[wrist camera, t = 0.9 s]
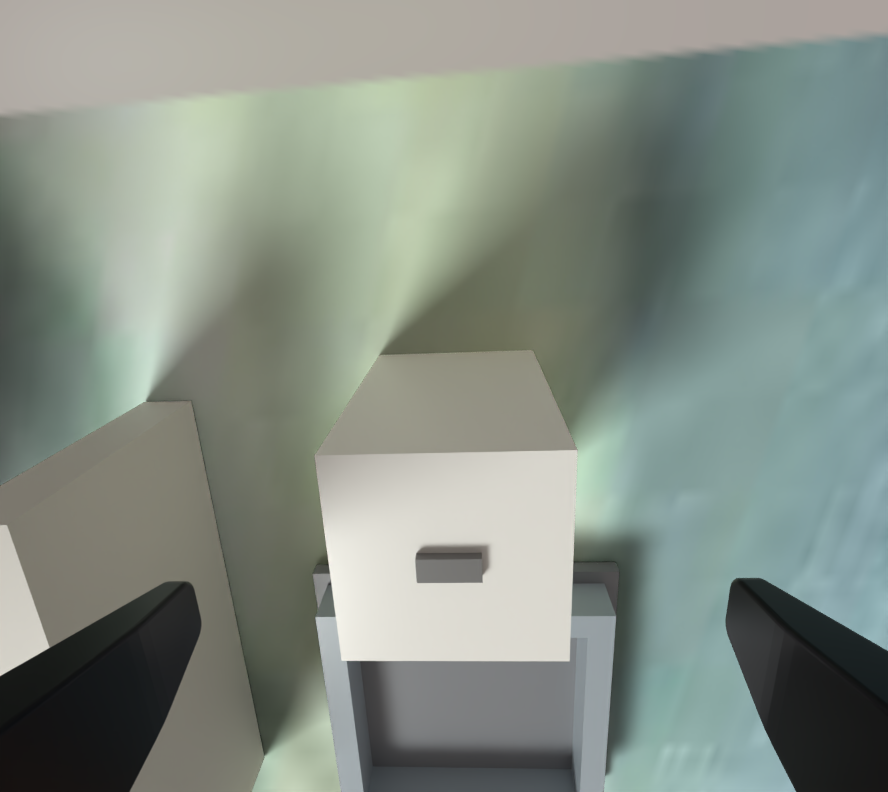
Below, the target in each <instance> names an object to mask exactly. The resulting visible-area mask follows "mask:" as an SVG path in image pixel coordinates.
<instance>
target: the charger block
mask: <svg viewBox="0 0 888 792" xmlns="http://www.w3.org/2000/svg"><path fill="white" fill-rule="evenodd" d="M314 457H315V464H316V472H317V479H318V487H319V494H320V502H321V509H322V517H323V524H324V532H325V539H326V547H327V554H328V562H329V570H330V577H331V585H332V592H333V600H334V607H335V615H336V622H337V630H338V637H339V645H340V652H341V660H342V661H570V637H571V610H572V583H573V557H574V530H575V504H576V477H577V448H576V446H575V443H574V441H573V439H572V437H571V434H570V432H569V430H568V428H567V425H566V423H565V421H564V419H563V416H562V414H561V412H560V410H559V408H558V405H557V403H556V401H555V399H554V396H553V394H552V392H551V390H550V387H549V385H548V383H547V381H546V378H545V376H544V374H543V372H542V369H541V367H540V365H539V363H538V360H537V358H536V356H535V354H534V352H533V350H519V351H488V352H456V353H425V354H393V355H379V356H378V358H377V359H376V361H375V362H374V364H373V366H372V367H371V369H370V370H369V372H368V373H367V375H366V376H365V378H364V379H363V381H362V383H361V384H360V386H359V387H358V389H357V390H356V392H355V393H354V395H353V396H352V398H351V400H350V401H349V403H348V404H347V406H346V407H345V409H344V410H343V412H342V413H341V415H340V417H339V418H338V420H337V421H336V423H335V424H334V426H333V427H332V429H331V431H330V432H329V434H328V435H327V437H326V438H325V440H324V441H323V443H322V444H321V446H320V448H319V449H318V451H317V452H316V454H315V455H314Z"/></svg>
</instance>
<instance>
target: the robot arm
mask: <svg viewBox="0 0 888 792" xmlns="http://www.w3.org/2000/svg"><path fill="white" fill-rule="evenodd" d="M201 627H202V620H201V615H200V611H199V606H198V602H197V598H196V594H195V589H194V586H193V585H192V584H191V583H190V582H188V581H167V582H164V583H162V584H160V585H159V586H157V587H155V588H153V589H152V590H150V591H148V592H146V593H145V594H143V595H141V596H139V597H138V598H136V599H134V600H132V601H131V602H129V603H127V604H125V605H124V606H122V607H120V608H118V609H117V610H115V611H113V612H111V613H110V614H108V615H106V616H104V617H103V618H101V619H99V620H97V621H96V622H94V623H92V624H90V625H89V626H87V627H85V628H83V629H82V630H80V631H78V632H76V633H75V634H73V635H71V636H69V637H68V638H66V639H64V640H62V641H61V642H59V643H57V644H55V645H53V646H52V647H50V648H48V649H46V650H45V651H43V652H41V653H39V654H38V655H36V656H34V657H32V658H31V659H29V660H27V661H25V662H24V663H22V664H20V665H18V666H17V667H15V668H13V669H11V670H10V671H8V672H6V673H4V674H3V675H1V676H0V792H130V790H131V788H132V787H133V785H134V783H135V781H136V779H137V777H138V775H139V773H140V771H141V769H142V767H143V765H144V763H145V761H146V759H147V757H148V755H149V753H150V751H151V749H152V747H153V745H154V743H155V741H156V739H157V737H158V735H159V733H160V731H161V729H162V727H163V725H164V723H165V721H166V718H167V716H168V714H169V711H170V709H171V707H172V704H173V702H174V699H175V696H176V694H177V691H178V689H179V686H180V684H181V681H182V679H183V676H184V674H185V671H186V669H187V666H188V664H189V661H190V659H191V656H192V654H193V651H194V649H195V646H196V644H197V641H198V638H199V636H200V632H201ZM726 630H727V634H728V637H729V639H730V642H731V644H732V647H733V650H734V652H735V655H736V657H737V660H738V662H739V665H740V668H741V670H742V673H743V675H744V678H745V680H746V683H747V686H748V688H749V691H750V693H751V696H752V698H753V701H754V704H755V706H756V709H757V711H758V714H759V716H760V719H761V721H762V723H763V726H764V728H765V730H766V733H767V735H768V737H769V739H770V741H771V743H772V745H773V747H774V749H775V751H776V753H777V755H778V757H779V759H780V761H781V763H782V765H783V767H784V769H785V771H786V773H787V775H788V777H789V779H790V781H791V783H792V784H793V786H794V788H795V790H796V792H888V651H887V650H885V649H883V648H882V647H880V646H878V645H876V644H875V643H873V642H871V641H870V640H868V639H866V638H864V637H863V636H861V635H859V634H857V633H856V632H854V631H852V630H850V629H849V628H847V627H845V626H844V625H842V624H840V623H838V622H837V621H835V620H833V619H831V618H830V617H828V616H826V615H824V614H823V613H821V612H819V611H817V610H816V609H814V608H812V607H811V606H809V605H807V604H805V603H804V602H802V601H800V600H798V599H797V598H795V597H793V596H791V595H790V594H788V593H786V592H785V591H783V590H781V589H779V588H778V587H776V586H774V585H772V584H771V583H769V582H767V581H765V580H763V579H761V578H736V579H735V580H733V582H732V583H731V587H730V593H729V600H728V607H727V614H726Z"/></svg>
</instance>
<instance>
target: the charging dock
mask: <svg viewBox="0 0 888 792" xmlns="http://www.w3.org/2000/svg"><path fill="white" fill-rule="evenodd" d="M313 580H314V587H315V594H316V601H317V608H318V611H317V614H316V616H315V619H316V625H317V632H318V639H319V646H320V653H321V659H322V666H323V673H324V680H325V686H326V693H327V700H328V707H329V713H330V720H331V727H332V734H333V740H334V747H335V754H336V761H337V768H338V774H339V781H340V788H341V792H604V783H605V769H606V754H607V740H608V726H609V712H610V697H611V683H612V669H613V655H614V640H615V626H616V612H617V597H618V583H619V570H618V567H617V565H616V562H573V583H572V610H571V637H570V661H342V660H341V652H340V645H339V637H338V630H337V622H336V615H335V607H334V600H333V592H332V585H331V577H330V570H329V565H316V567H315V570H314V572H313Z"/></svg>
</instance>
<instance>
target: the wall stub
mask: <svg viewBox="0 0 888 792" xmlns="http://www.w3.org/2000/svg"><path fill="white" fill-rule="evenodd" d="M167 581H188V582H190V583H191V584H192V585H193V586H194V589H195V594H196V598H197V602H198V606H199V611H200V615H201V620H202V627H201V632H200V636H199V638H198V641H197V644H196V646H195V649H194V651H193V654H192V656H191V659H190V661H189V664H188V666H187V669H186V671H185V674H184V676H183V679H182V681H181V684H180V686H179V689H178V691H177V694H176V696H175V699H174V702H173V704H172V707H171V709H170V711H169V714H168V716H167V718H166V721H165V723H164V725H163V727H162V729H161V731H160V733H159V735H158V737H157V739H156V741H155V743H154V745H153V747H152V749H151V751H150V753H149V755H148V757H147V759H146V761H145V763H144V765H143V767H142V769H141V771H140V773H139V775H138V777H137V779H136V781H135V783H134V785H133V787H132V788H131V790H130V792H252V789H253V786H254V784H255V781H256V778H257V776H258V773H259V771H260V768H261V765H262V763H263V760H264V752H263V748H262V743H261V738H260V733H259V728H258V723H257V718H256V713H255V709H254V704H253V699H252V694H251V689H250V684H249V679H248V675H247V670H246V665H245V660H244V655H243V650H242V645H241V640H240V636H239V631H238V626H237V621H236V616H235V611H234V606H233V602H232V597H231V592H230V587H229V582H228V577H227V572H226V567H225V563H224V558H223V553H222V548H221V543H220V538H219V533H218V529H217V524H216V519H215V514H214V509H213V504H212V499H211V494H210V490H209V485H208V480H207V475H206V470H205V465H204V460H203V456H202V451H201V446H200V441H199V436H198V431H197V426H196V421H195V417H194V412H193V407H192V402H191V401H165V402H144V403H142V404H140V405H138V406H137V407H135V408H133V409H131V410H130V411H128V412H126V413H125V414H123V415H121V416H119V417H118V418H116V419H114V420H113V421H111V422H109V423H107V424H106V425H104V426H102V427H100V428H99V429H97V430H95V431H94V432H92V433H90V434H88V435H87V436H85V437H83V438H82V439H80V440H78V441H76V442H75V443H73V444H71V445H70V446H68V447H66V448H64V449H63V450H61V451H59V452H57V453H56V454H54V455H52V456H51V457H49V458H47V459H45V460H44V461H42V462H40V463H39V464H37V465H35V466H33V467H32V468H30V469H28V470H26V471H25V472H23V473H21V474H20V475H18V476H16V477H14V478H13V479H11V480H9V481H8V482H6V483H4V484H2V485H1V486H0V676H1V675H3V674H4V673H6V672H8V671H10V670H11V669H13V668H15V667H17V666H18V665H20V664H22V663H24V662H25V661H27V660H29V659H31V658H32V657H34V656H36V655H38V654H39V653H41V652H43V651H45V650H46V649H48V648H50V647H52V646H53V645H55V644H57V643H59V642H61V641H62V640H64V639H66V638H68V637H69V636H71V635H73V634H75V633H76V632H78V631H80V630H82V629H83V628H85V627H87V626H89V625H90V624H92V623H94V622H96V621H97V620H99V619H101V618H103V617H104V616H106V615H108V614H110V613H111V612H113V611H115V610H117V609H118V608H120V607H122V606H124V605H125V604H127V603H129V602H131V601H132V600H134V599H136V598H138V597H139V596H141V595H143V594H145V593H146V592H148V591H150V590H152V589H153V588H155V587H157V586H159V585H160V584H162V583H164V582H167Z"/></svg>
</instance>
